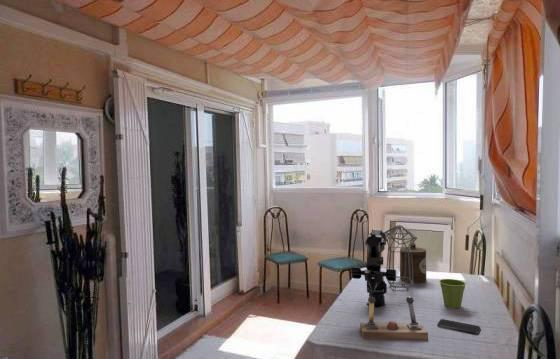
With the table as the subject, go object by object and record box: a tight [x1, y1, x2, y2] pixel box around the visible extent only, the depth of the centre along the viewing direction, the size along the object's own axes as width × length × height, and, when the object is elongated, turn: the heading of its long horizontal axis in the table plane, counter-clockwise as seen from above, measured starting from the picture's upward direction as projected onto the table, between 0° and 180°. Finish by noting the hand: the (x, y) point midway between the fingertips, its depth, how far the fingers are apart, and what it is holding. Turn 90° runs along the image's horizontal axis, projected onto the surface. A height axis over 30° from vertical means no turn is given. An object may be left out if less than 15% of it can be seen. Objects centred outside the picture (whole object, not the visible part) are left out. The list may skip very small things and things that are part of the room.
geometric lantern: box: [383, 224, 418, 292], centre depth 203 cm, size 16×16×35 cm
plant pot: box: [438, 278, 467, 309], centre depth 176 cm, size 12×12×11 cm
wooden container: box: [399, 242, 427, 284], centre depth 221 cm, size 15×15×22 cm
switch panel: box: [359, 320, 429, 340], centre depth 146 cm, size 9×24×4 cm, turn 86°
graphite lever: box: [405, 296, 419, 325], centre depth 147 cm, size 3×3×11 cm
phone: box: [436, 318, 481, 336], centre depth 151 cm, size 8×1×15 cm
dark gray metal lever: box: [367, 296, 376, 325], centre depth 148 cm, size 3×3×11 cm
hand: (372, 291), depth 156 cm, fingers closed
